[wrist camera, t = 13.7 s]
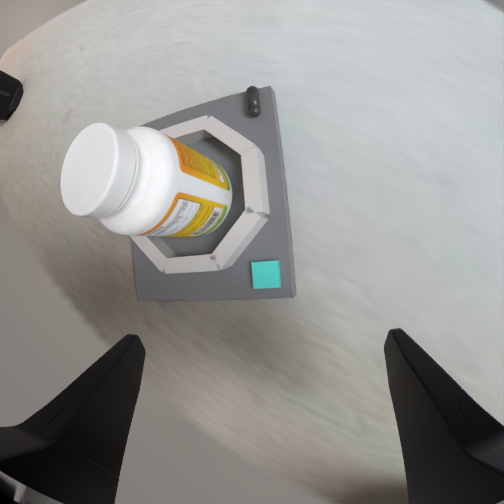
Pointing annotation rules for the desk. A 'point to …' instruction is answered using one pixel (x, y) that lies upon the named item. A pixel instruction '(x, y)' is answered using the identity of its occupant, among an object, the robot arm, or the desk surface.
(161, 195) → the supplement bottle
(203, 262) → the charging dock
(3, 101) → the portable speaker
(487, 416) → the robot arm
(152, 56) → the desk surface
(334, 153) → the desk surface
